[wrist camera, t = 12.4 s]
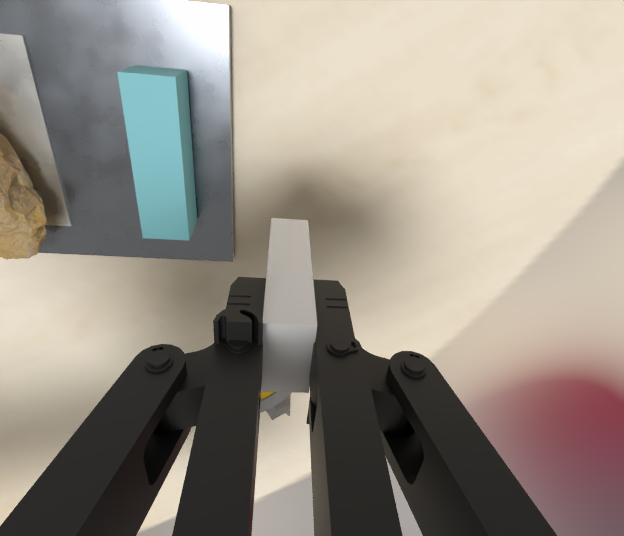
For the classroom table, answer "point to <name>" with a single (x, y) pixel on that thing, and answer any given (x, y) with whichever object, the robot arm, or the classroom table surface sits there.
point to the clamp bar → (160, 149)
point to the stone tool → (18, 208)
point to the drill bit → (275, 403)
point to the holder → (114, 117)
